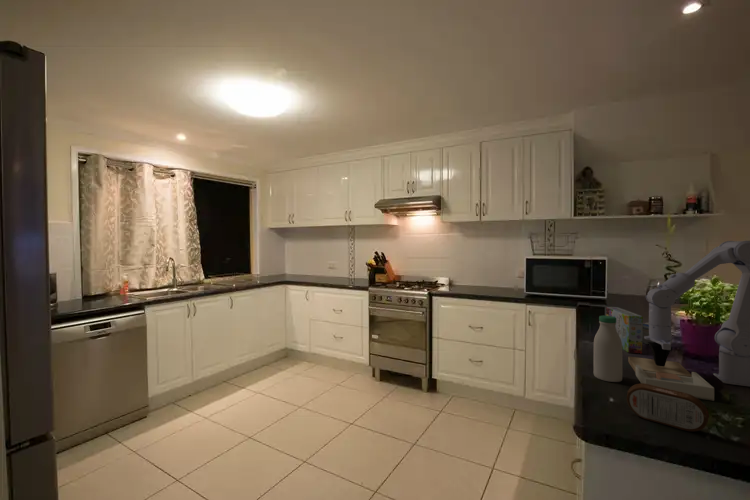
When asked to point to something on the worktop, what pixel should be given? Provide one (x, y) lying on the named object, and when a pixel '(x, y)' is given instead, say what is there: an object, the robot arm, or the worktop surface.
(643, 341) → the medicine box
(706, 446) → the worktop surface
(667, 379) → the slate tile
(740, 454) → the worktop surface
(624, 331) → the snack box
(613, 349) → the milk bottle
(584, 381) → the worktop surface
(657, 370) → the board
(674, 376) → the terracotta tile
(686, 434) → the worktop surface
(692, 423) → the tin
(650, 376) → the tray
